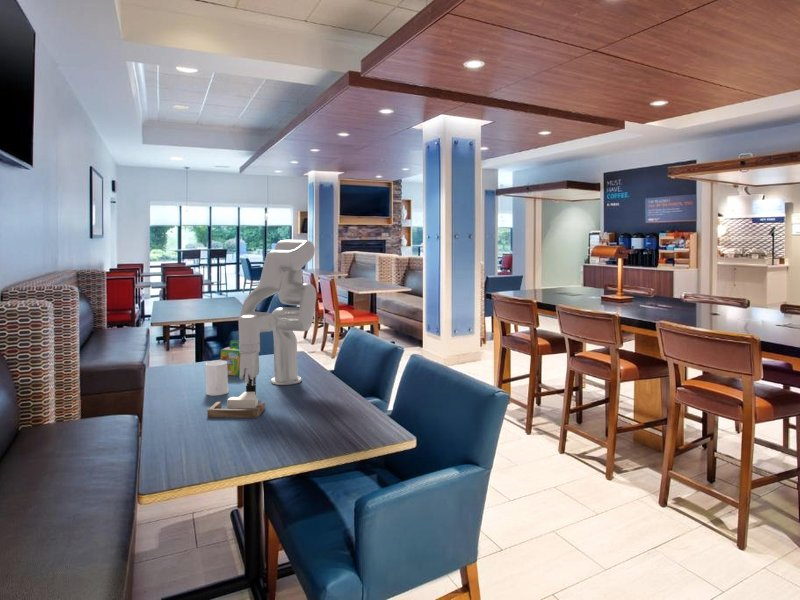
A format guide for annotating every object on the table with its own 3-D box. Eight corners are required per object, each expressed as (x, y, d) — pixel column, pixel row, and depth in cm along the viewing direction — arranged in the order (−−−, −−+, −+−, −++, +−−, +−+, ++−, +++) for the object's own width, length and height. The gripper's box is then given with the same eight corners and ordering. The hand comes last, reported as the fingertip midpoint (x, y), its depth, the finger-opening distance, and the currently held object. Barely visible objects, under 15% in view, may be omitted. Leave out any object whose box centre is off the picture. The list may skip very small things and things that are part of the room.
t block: (236, 399, 197) (236, 391, 197) (263, 399, 197) (262, 391, 196) (227, 407, 187) (227, 399, 187) (255, 408, 187) (254, 400, 187)
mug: (227, 397, 200) (226, 366, 198) (203, 398, 198) (202, 367, 196) (229, 388, 211) (228, 359, 210) (207, 390, 209) (205, 360, 208)
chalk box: (220, 375, 231) (219, 342, 230) (230, 370, 240) (229, 338, 239) (240, 376, 230) (238, 343, 228) (249, 371, 239) (248, 339, 237)
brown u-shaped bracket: (217, 408, 186) (216, 401, 186) (264, 408, 186) (264, 402, 186) (207, 417, 177) (207, 410, 177) (257, 417, 177) (257, 410, 177)
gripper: (246, 343, 204) (247, 389, 206) (233, 352, 189) (234, 401, 191) (265, 344, 204) (266, 389, 206) (253, 352, 189) (255, 401, 191)
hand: (251, 395), depth 199 cm, fingers closed
